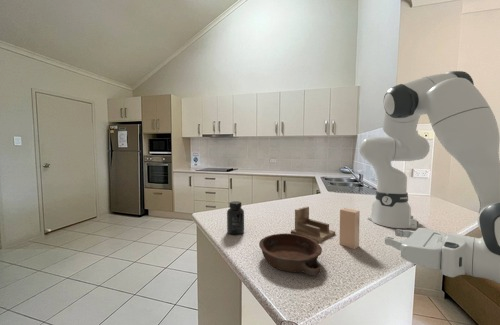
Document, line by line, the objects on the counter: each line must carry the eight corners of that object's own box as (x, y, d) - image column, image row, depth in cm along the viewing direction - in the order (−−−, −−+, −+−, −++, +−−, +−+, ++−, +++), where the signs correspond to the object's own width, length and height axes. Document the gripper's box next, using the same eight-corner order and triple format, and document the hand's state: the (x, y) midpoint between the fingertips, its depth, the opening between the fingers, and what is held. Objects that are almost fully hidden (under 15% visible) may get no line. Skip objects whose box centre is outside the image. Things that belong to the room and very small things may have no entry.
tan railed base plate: (308, 226, 90) (308, 205, 90) (335, 234, 81) (335, 211, 81) (291, 232, 83) (291, 210, 82) (318, 242, 74) (318, 217, 73)
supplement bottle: (247, 230, 85) (247, 201, 85) (239, 236, 79) (239, 205, 79) (232, 228, 88) (232, 199, 88) (223, 233, 82) (223, 203, 81)
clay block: (344, 241, 74) (344, 208, 74) (358, 246, 71) (359, 210, 70) (339, 244, 72) (340, 209, 72) (354, 249, 68) (355, 212, 68)
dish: (285, 241, 76) (285, 227, 75) (341, 268, 57) (341, 250, 57) (244, 253, 66) (244, 237, 66) (295, 291, 48) (295, 270, 47)
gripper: (460, 229, 58) (401, 218, 69) (451, 251, 45) (379, 233, 55) (460, 252, 58) (400, 237, 69) (450, 280, 45) (378, 257, 56)
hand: (390, 235), depth 62 cm, fingers open, 8 cm apart
